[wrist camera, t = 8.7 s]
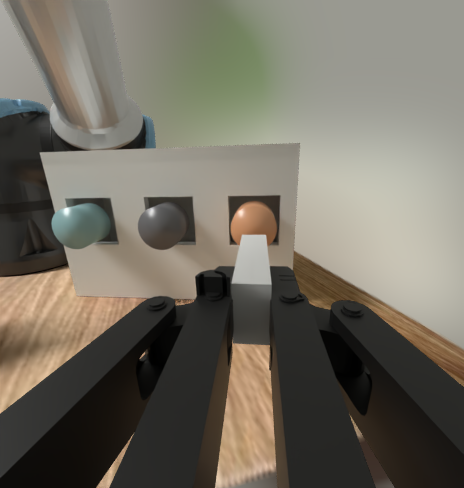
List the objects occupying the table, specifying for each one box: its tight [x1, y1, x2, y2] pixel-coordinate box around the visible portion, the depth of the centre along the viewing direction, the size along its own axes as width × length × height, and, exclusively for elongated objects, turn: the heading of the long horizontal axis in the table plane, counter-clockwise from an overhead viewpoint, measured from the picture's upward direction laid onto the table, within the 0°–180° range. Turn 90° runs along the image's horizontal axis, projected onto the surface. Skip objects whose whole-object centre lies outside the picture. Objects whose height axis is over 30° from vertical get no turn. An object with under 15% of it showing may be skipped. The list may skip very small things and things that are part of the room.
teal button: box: [52, 203, 111, 249], centre depth 24 cm, size 4×3×4 cm
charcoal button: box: [138, 202, 190, 250], centre depth 23 cm, size 4×3×4 cm
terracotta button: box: [231, 201, 277, 247], centre depth 22 cm, size 4×3×4 cm
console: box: [40, 143, 300, 300], centre depth 29 cm, size 25×8×16 cm, turn 84°
